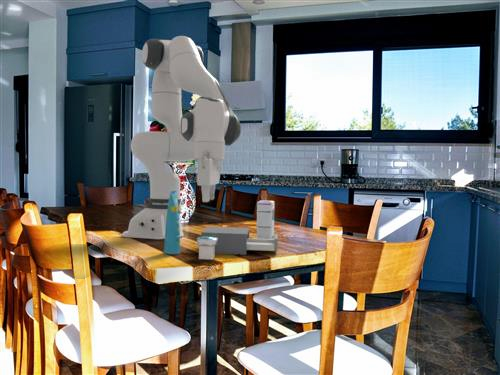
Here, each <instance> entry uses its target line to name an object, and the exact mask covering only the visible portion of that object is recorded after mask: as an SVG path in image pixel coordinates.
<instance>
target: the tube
mask: <svg viewBox="0 0 500 375" xmlns="http://www.w3.org/2000/svg"><path fill="white" fill-rule="evenodd" d="M163 246H164V248H163V253H164V254H165V255H179V254H180V253H181V237H180V225H179V207H178V198H177V190H175V191H171V193H170V197H169V202H168V209H167V218H166V230H165V239H164V244H163Z"/></svg>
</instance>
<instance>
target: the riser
mask: <svg viewBox="0 0 500 375" xmlns="http://www.w3.org/2000/svg"><path fill="white" fill-rule="evenodd" d="M215 256H216V254H215V246H199V245H198V260H214V259H215Z"/></svg>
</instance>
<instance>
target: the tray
mask: <svg viewBox="0 0 500 375" xmlns="http://www.w3.org/2000/svg"><path fill="white" fill-rule="evenodd" d="M278 237H279V236H278V233H274V239H257V238H250V237H249V238H247V247H246V250H248V251H265V252H266V251H268V252H269V251H270V252H271V251H272V252H278V243H279V242H278V241H279V240H278Z"/></svg>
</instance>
